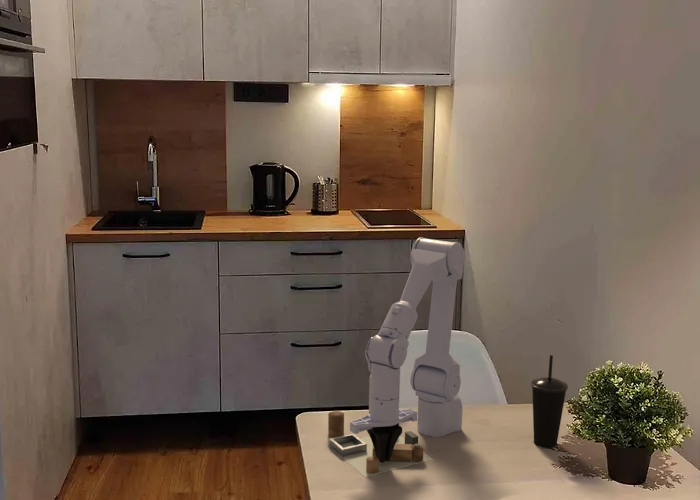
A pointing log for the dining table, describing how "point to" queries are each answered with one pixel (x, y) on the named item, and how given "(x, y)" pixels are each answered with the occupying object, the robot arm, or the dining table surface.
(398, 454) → the folding leg
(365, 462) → the seat board
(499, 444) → the dining table surface
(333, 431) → the loose leg
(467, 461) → the dining table surface
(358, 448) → the socket
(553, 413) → the drinking cup
